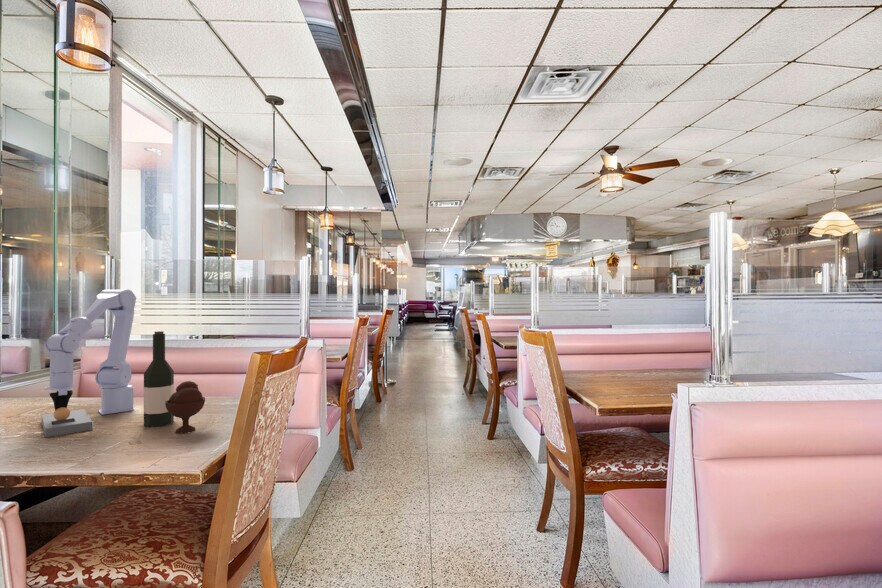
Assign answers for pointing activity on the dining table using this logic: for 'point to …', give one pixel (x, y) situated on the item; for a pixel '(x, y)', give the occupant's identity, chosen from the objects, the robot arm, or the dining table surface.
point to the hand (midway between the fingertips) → (60, 414)
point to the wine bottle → (158, 386)
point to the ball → (61, 413)
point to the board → (66, 423)
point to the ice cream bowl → (185, 404)
